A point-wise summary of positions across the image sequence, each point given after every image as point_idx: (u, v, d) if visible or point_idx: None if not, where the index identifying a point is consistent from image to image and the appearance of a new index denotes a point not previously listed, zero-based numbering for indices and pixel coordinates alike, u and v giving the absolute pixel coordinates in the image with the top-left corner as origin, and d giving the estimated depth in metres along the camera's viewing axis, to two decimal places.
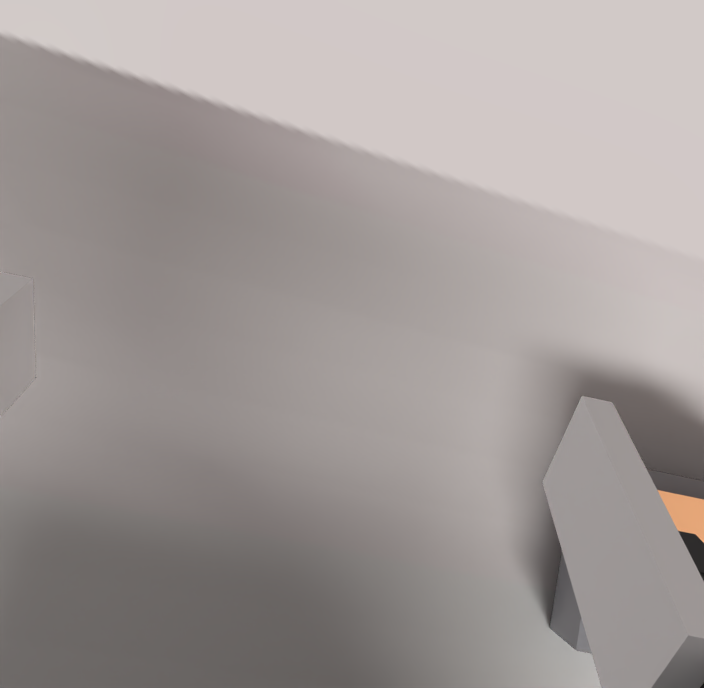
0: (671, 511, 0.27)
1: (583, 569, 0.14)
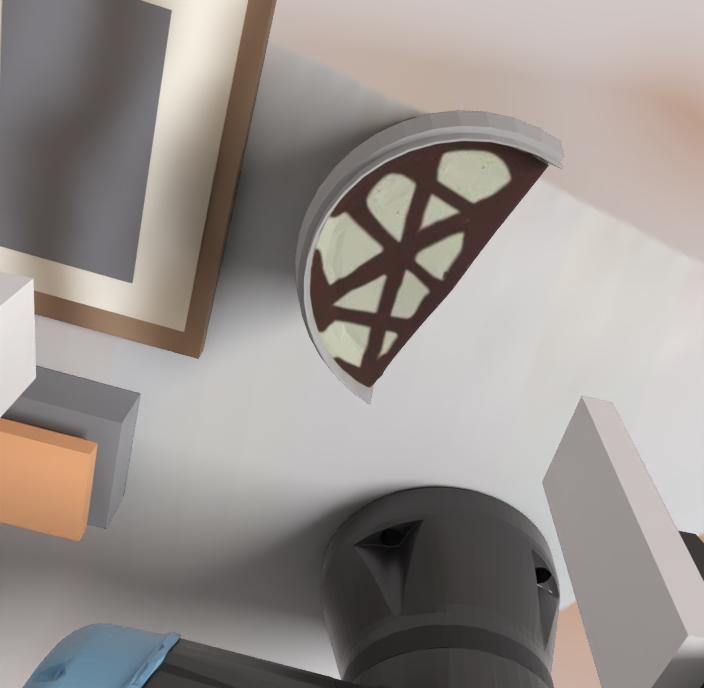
0: None
1: (583, 569, 0.14)
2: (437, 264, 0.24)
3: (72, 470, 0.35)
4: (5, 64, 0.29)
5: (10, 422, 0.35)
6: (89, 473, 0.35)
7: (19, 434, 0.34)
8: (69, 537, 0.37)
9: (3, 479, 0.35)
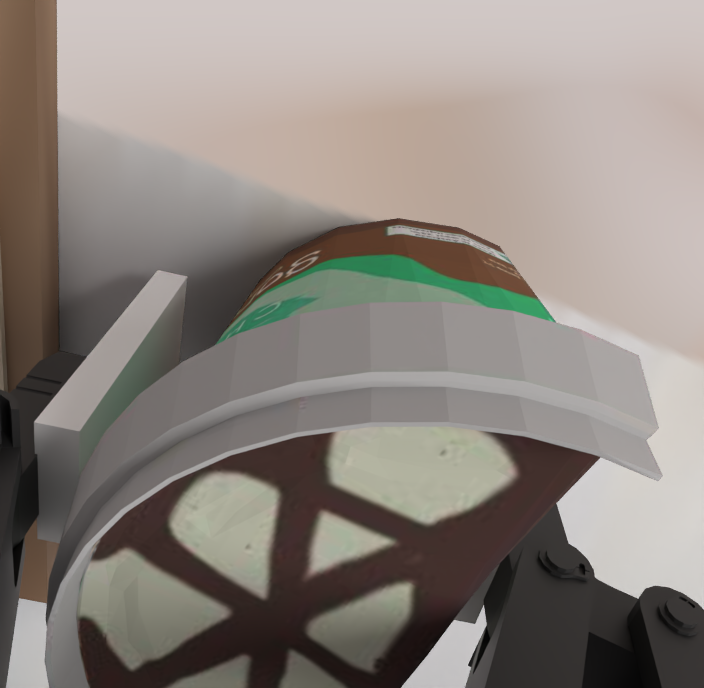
0: None
1: None
2: (357, 643, 0.10)
3: None
4: None
5: None
6: None
7: None
8: None
9: None
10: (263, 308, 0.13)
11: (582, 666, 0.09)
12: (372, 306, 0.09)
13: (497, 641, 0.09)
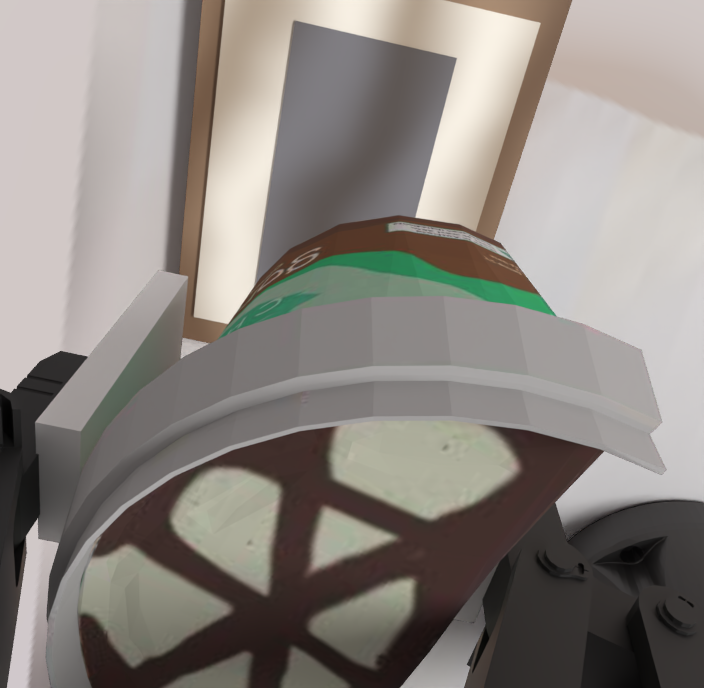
0: None
1: None
2: (359, 640, 0.10)
3: None
4: (284, 123, 0.30)
5: None
6: None
7: None
8: None
9: None
10: (264, 304, 0.13)
11: (580, 665, 0.09)
12: (374, 300, 0.09)
13: (496, 640, 0.09)
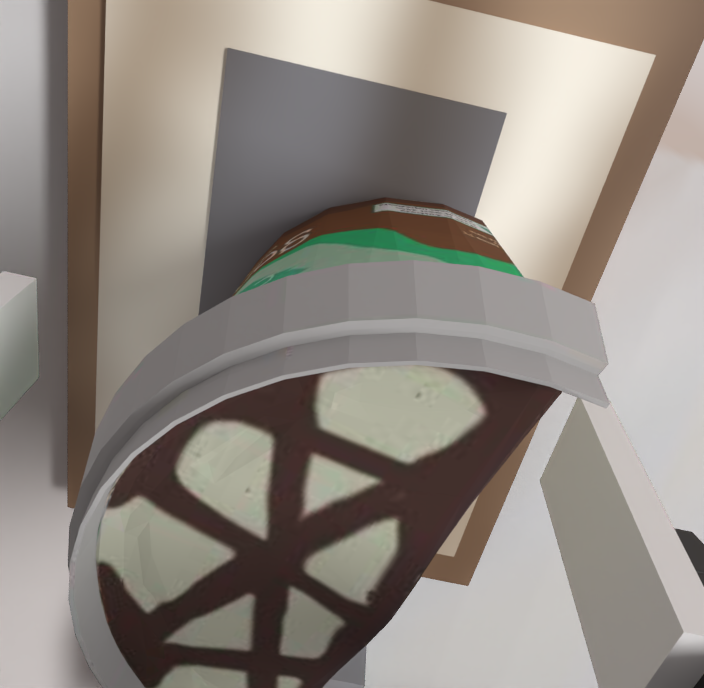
0: None
1: (580, 567, 0.14)
2: (350, 577, 0.11)
3: None
4: (217, 214, 0.18)
5: None
6: None
7: None
8: None
9: None
10: (258, 281, 0.14)
11: None
12: (351, 266, 0.10)
13: None
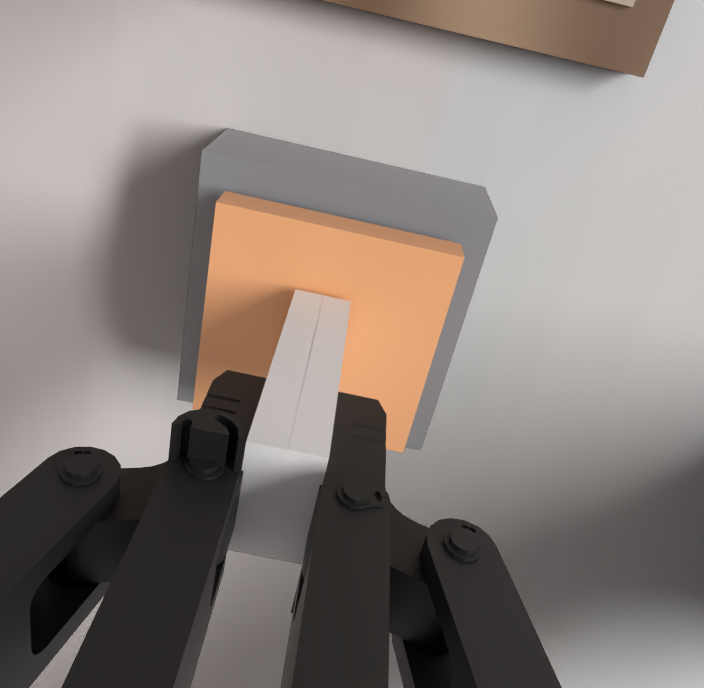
0: None
1: None
2: None
3: (419, 298, 0.17)
4: None
5: (293, 208, 0.17)
6: None
7: (320, 224, 0.17)
8: (386, 445, 0.20)
9: (277, 329, 0.18)
10: None
11: (387, 588, 0.10)
12: None
13: (306, 588, 0.09)
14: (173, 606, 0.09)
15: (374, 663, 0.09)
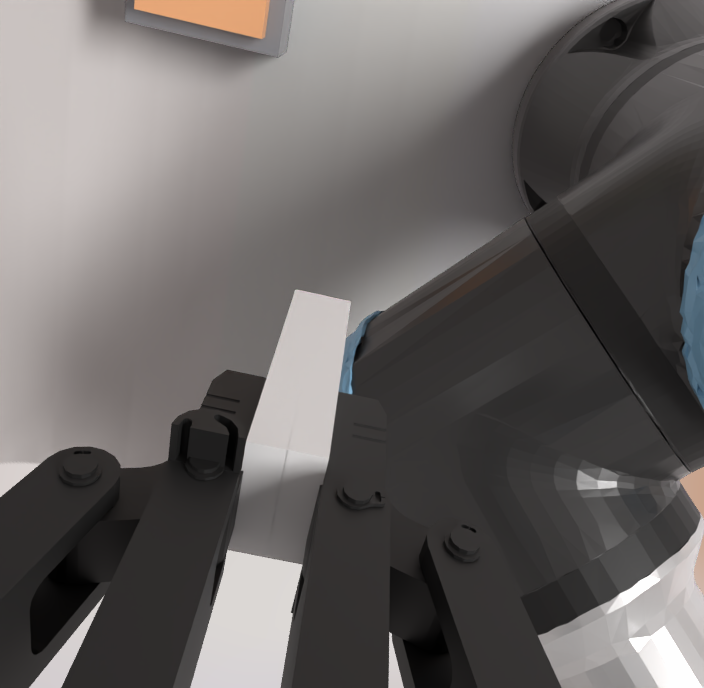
0: None
1: None
2: None
3: None
4: None
5: None
6: None
7: None
8: (250, 33, 0.33)
9: None
10: None
11: (387, 587, 0.10)
12: None
13: (306, 587, 0.09)
14: (173, 607, 0.09)
15: (374, 663, 0.09)
